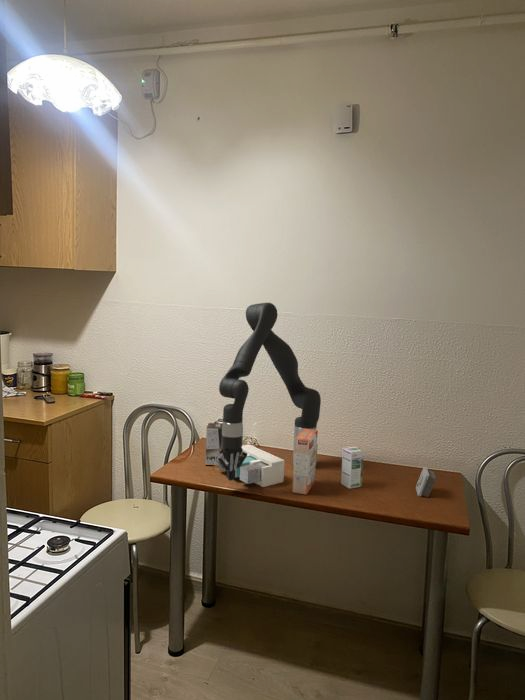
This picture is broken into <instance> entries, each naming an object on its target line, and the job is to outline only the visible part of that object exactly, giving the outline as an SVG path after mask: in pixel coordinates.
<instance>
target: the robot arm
mask: <svg viewBox="0 0 525 700" xmlns="http://www.w3.org/2000/svg"><path fill="white" fill-rule="evenodd" d="M245 320H246V322H247V323H248V326H250V328H251V331H252V334H251V335H250V336H249V337H248V338H247V339H246V340H245V341H244V343H243V344H242V345H241V346H240V348H239V349H238V351H237V353H236V356H235V359H234V361H233V363H232V365H231V367H230V368H229V369H228V370H227V372H226V373H225V374H224V376H223V377H222V379H221V380H220V383H219V386H218V391H219V394H220V395H221V397H224V398H228V399H234V401H233V403H227V404H225V405H224V406H223V413H222V423H223V425H222V451H221V455H220V456H219V457H216V460H217V462H218V463H219V464H220V466H221V467H222V468H223V469H225V470H227V471H226V479H227V480H228V481H230V482H231V481H235V478H236V477H235V474H236V469H237V468H240V466H241V465H242V463H243V461H244V460H245V458H246V457H247V453H245V452H243V451H242V446H243V442H244V440H243V439H244V438H243V437H244V436H243V435H244V425H243V419H244V417H243V416H244V415H243V414H244V408H245V404H246V400H247V398H248V394H249V390H250V389H249V385H248V383H247V381H246V380H244V379H241V378H245V377H249V375H250V374H251V372H252V370H253V366H254V365H255V361H256V359H257V357H258V354H259V352H260V350H261V349H262V346H263V348H264V349H265V351H266V353H267V354H268V355H267V356H269V359H270V360H271V362H272V364H273V365H274V367H275V369H276V370H277V372H278V374H279V376H280V378H281V380H282V381H283V384H284V385H285V388H286V389H287V392H288V394H289V397H290V399H291V401H292V404H293V405H294V406H296V407H297V408H298V409H301V416H297V417H295V419H294V428H293V429H294V432H293V449H292V451H293V454H292V455H293V456H292V466H293V467H294V455H295V439H296V437H297V436H298V435H299V434H300V432H301V431H302V430H303V429H311V430H317V428H318V427H317V426H318V422H319V419H320V412H321V404H322V403H321V394H320V393H319V391H318V390H316V389H314V388H311V387H307V386H306V385H305V383H304V382H303V381H302V379H301V378H300V376H299V362H298V359H297V357H296V354H295V353H294V351H293V349H292V347H291V346H290V345H289V344H288V343H287V342H286V340H285V341H284V339H282V338H281V337H279V335H277V334H276V333H275V332H274V331H273V330H272V329H273V327H274V326H275V324H276V322H277V320H278V309H277V307H276V305H274V304H273V303H272V302H262V303H255V304H251V305H249V306H247V308H246V310H245ZM317 431H318V430H317ZM223 457H224V458H223ZM224 459H225V462H224ZM317 459H318V448H317V449H316V464H315V467H316V466H317V464H318V463H317V462H318V460H317ZM239 461H240V462H239ZM225 463H226V464H225Z"/></svg>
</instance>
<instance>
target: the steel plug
mask: <svg viewBox="0 0 525 700" xmlns="http://www.w3.org/2000/svg"><path fill="white" fill-rule="evenodd" d="M264 466H268V465H266V464H264V463H262V462H260V463H255V464H251V465H246V466H242V467H240V477H239V481H240V482H241V481H242V482H243V483H245V484H247V485H249V484H253V483H254V482H258V481H261V469H262V467H264ZM254 484H255V483H254Z"/></svg>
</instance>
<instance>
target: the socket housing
mask: <svg viewBox="0 0 525 700" xmlns="http://www.w3.org/2000/svg"><path fill="white" fill-rule="evenodd" d="M242 451H243V452H245V453H247V457H252V458H254V459H256V460H253V461H250V465H251V464H255V463H260V462H262V463H264V464H266V465H268V466H264V467H262V469H261V481H258V482H254V484H256V485H258V486H260V487H262V488H265V487H269V486H273V485H276V484H280V483H284V481H285V479H284V475H285V459H283V458H280V457H279V456H276V455H273V454H272V453H269V452H268V451H267V452H266V451H264V450H262V449H260V448H258V447H255V446H253V445H251V444H244V445H242Z"/></svg>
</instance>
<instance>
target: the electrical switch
mask: <svg viewBox="0 0 525 700" xmlns="http://www.w3.org/2000/svg"><path fill="white" fill-rule="evenodd" d="M436 480H437V478H436V475H435V472H434V471H433V470H430V469H428V467H427V466H423V468H422V470H421V472H420V475H419V477H418V480H417V483H416V484H415V491H416V493H417V494H416V495H417V496H418V497H420V498H421V497H422V496H423V497H426V498H429V496H430V495H431V492H432V489H433V487H434V485H435V482H436Z"/></svg>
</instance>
